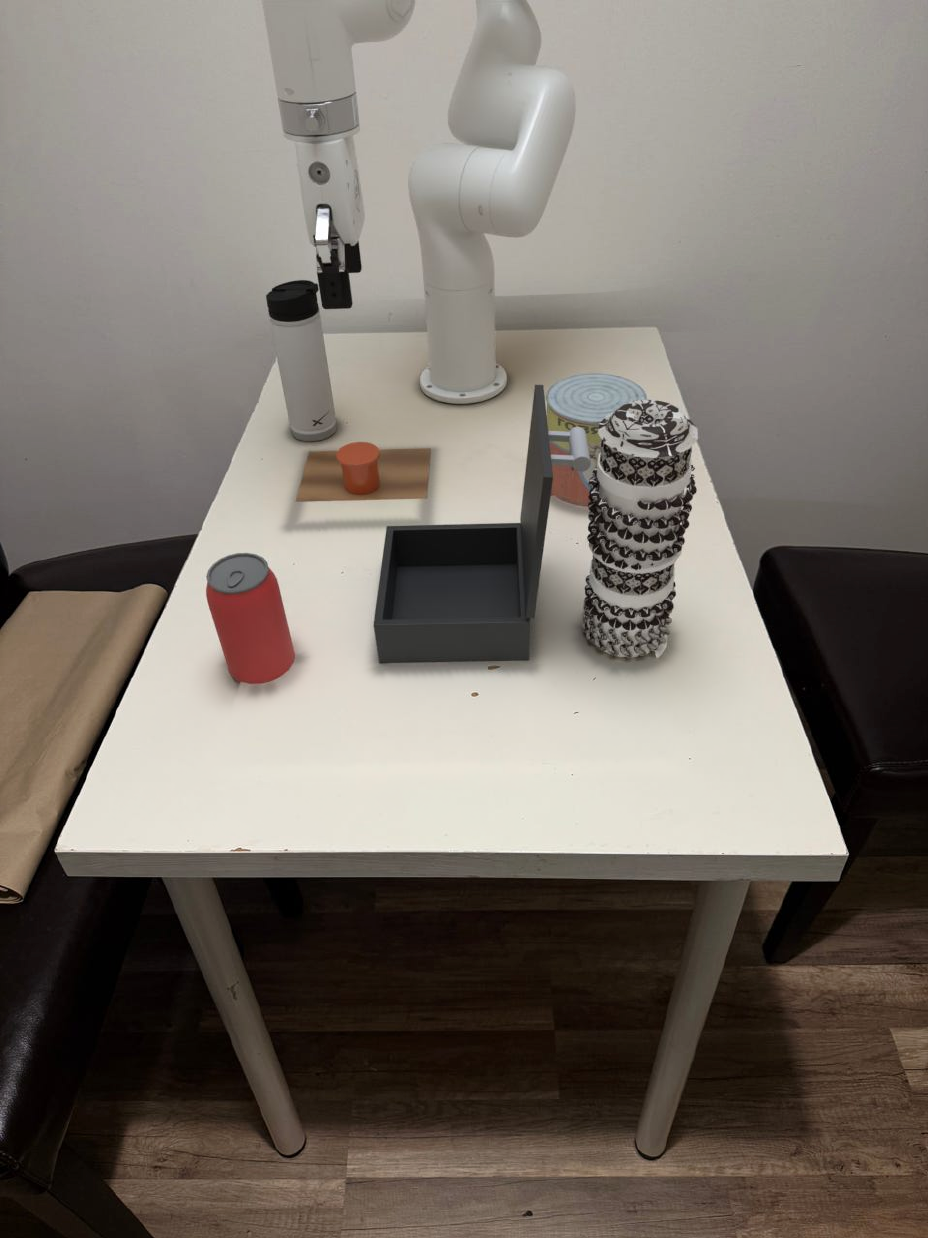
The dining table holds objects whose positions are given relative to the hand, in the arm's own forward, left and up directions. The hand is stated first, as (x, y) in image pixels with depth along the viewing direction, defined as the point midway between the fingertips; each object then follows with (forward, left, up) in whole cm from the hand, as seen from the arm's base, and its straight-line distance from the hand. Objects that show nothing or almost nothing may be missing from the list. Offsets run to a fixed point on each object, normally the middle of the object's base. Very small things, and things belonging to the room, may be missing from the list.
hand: (343, 289), depth 98 cm
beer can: (+35, -7, -24) cm, 43 cm away
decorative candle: (+32, +29, -23) cm, 49 cm away
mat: (+4, 0, -23) cm, 24 cm away
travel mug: (-10, -8, -23) cm, 27 cm away
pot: (+4, 0, -23) cm, 23 cm away
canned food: (+5, +28, -23) cm, 37 cm away
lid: (+28, +20, -9) cm, 35 cm away
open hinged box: (+28, +12, -23) cm, 38 cm away
